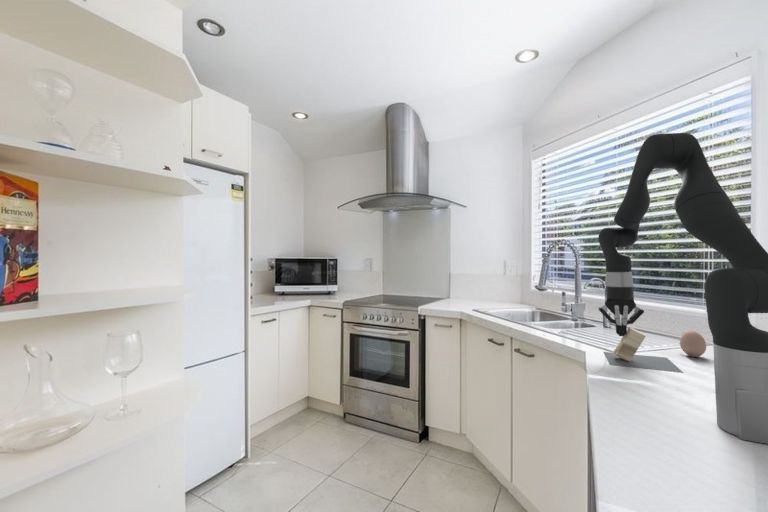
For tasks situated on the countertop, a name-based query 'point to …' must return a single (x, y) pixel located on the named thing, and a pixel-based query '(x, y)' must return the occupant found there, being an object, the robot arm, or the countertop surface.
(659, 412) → the countertop surface
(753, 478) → the countertop surface
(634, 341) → the birch block
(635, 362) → the rubber mat
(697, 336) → the egg
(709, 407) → the countertop surface
